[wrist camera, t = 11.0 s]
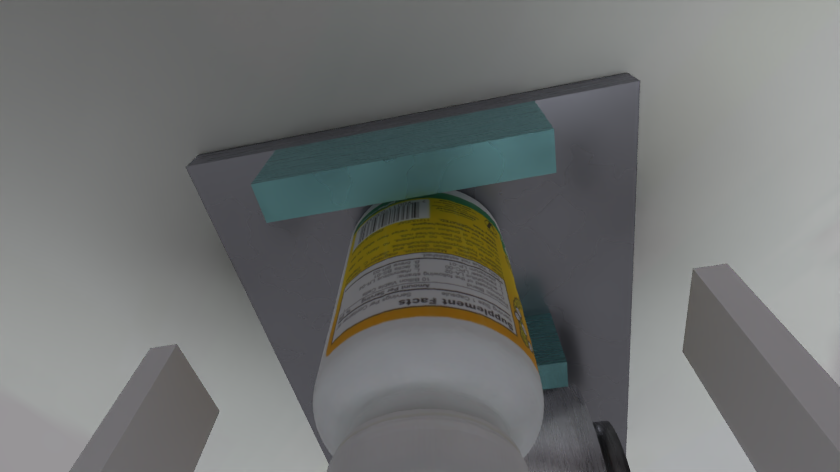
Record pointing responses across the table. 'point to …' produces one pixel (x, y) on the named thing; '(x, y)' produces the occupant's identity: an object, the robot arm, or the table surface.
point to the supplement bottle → (428, 346)
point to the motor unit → (508, 204)
